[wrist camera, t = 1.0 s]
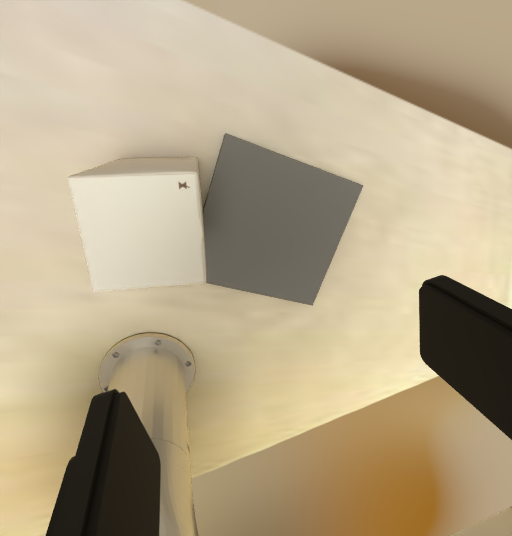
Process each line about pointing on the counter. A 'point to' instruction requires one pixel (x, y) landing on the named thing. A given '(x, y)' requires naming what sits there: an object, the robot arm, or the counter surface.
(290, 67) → the counter surface
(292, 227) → the mat
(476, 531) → the robot arm
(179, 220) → the supplement box
